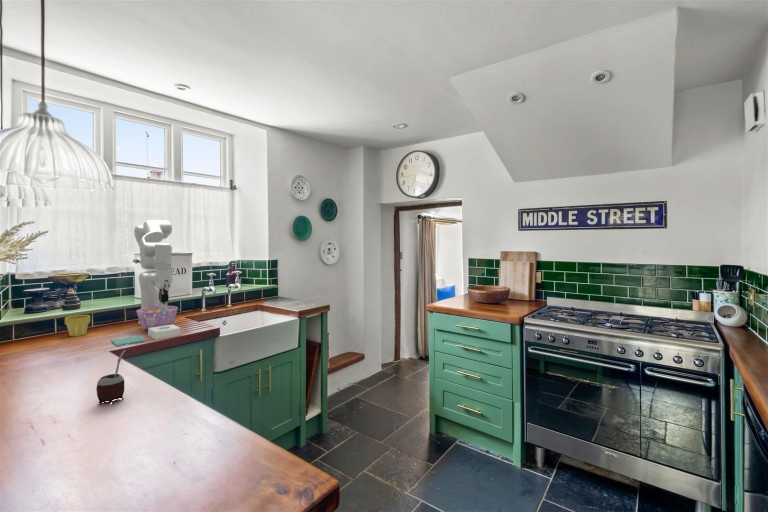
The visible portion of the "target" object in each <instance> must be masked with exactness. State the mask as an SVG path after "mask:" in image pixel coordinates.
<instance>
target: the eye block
mask: <svg viewBox="0 0 768 512" xmlns="http://www.w3.org/2000/svg"><path fill="white" fill-rule="evenodd" d="M147 336H149V337H150V338H152V339H153V340H155V341H156V340H162V339H167V338H174V337H178V336H182V328H181V327H180V326H178V325H175V324H174V323H173V324H172V325H165V326H159V327H152V328H148V329H147Z"/></svg>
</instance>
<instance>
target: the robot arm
mask: <svg viewBox="0 0 768 512" xmlns="http://www.w3.org/2000/svg"><path fill="white" fill-rule="evenodd" d="M133 230H134V232H133V233H134V238H135V240H136V242H137V245H138V247H139V259H140V267H141V268H142V269H143V270H146V271H143V272H140V274H139V275H138V283H139V288H140V309H142V308H147V307H155V306H160V291H162V294H161V301H162V302H166V301H167V302H169V300H170V299H169V291H170V288H171V286H172V283H173V268H172V253H173V246H172V245H171V244H170V243H168V242H162V241H164V240H166V239H167V238H168V237H170V235H171V234H172V232H173V225H172V223H171V222H170V221H169V220H165V219H148V220H145V221H143V224H139V225H137V226H135V227H134V229H133ZM147 270H150V271H147ZM157 289H158V290H157ZM138 325H141V324H140V321H139V320H138Z"/></svg>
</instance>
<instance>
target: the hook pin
mask: <svg viewBox="0 0 768 512" xmlns="http://www.w3.org/2000/svg"><path fill="white" fill-rule="evenodd" d="M161 294H162V291H160V315H161V316H166V315H167V306H168V301H166V302H162V301H161Z"/></svg>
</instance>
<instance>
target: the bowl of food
mask: <svg viewBox="0 0 768 512" xmlns="http://www.w3.org/2000/svg"><path fill="white" fill-rule="evenodd" d="M178 308H179V307H178V306H174V305H167V315H166V316H161V315H160V306H155V307H147V308H142V309H141V308H139V309H136V315H137V318H138V322H139V321H140V324H139V325H140V326H141V327H142V328H144V329H146V330H148V328H152V327H159V326H165V325H172V324H173V325H174V323H175V321H176V317H177V313H178Z"/></svg>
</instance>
